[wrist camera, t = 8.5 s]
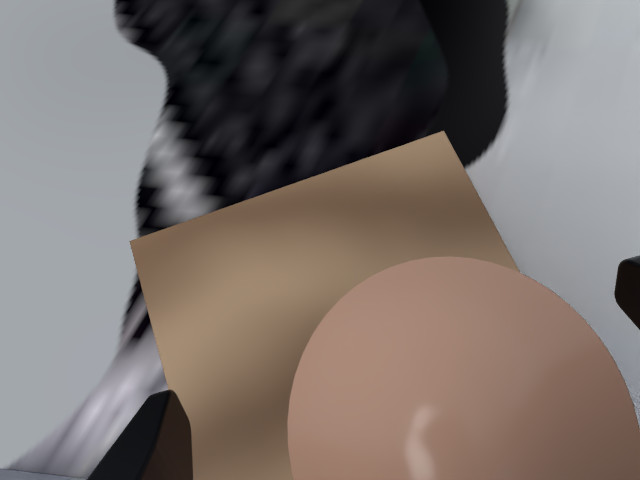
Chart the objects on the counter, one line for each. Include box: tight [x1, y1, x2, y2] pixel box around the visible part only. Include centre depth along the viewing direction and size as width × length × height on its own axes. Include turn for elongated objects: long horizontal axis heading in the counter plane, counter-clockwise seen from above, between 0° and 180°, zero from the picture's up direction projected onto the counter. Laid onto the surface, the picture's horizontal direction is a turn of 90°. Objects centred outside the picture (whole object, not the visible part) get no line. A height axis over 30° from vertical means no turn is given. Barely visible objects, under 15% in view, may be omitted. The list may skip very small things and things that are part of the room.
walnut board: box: [130, 131, 520, 480], centre depth 16 cm, size 18×14×1 cm
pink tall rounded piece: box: [287, 256, 640, 480], centre depth 11 cm, size 5×5×10 cm
